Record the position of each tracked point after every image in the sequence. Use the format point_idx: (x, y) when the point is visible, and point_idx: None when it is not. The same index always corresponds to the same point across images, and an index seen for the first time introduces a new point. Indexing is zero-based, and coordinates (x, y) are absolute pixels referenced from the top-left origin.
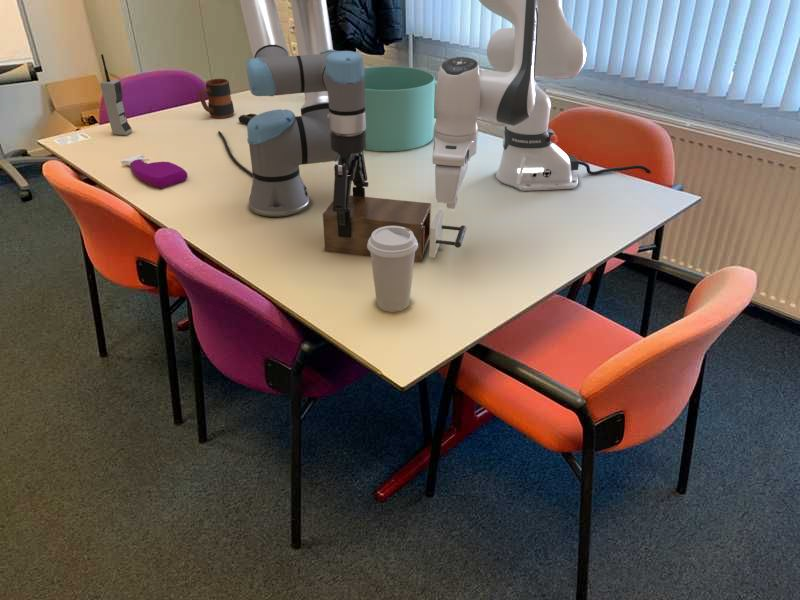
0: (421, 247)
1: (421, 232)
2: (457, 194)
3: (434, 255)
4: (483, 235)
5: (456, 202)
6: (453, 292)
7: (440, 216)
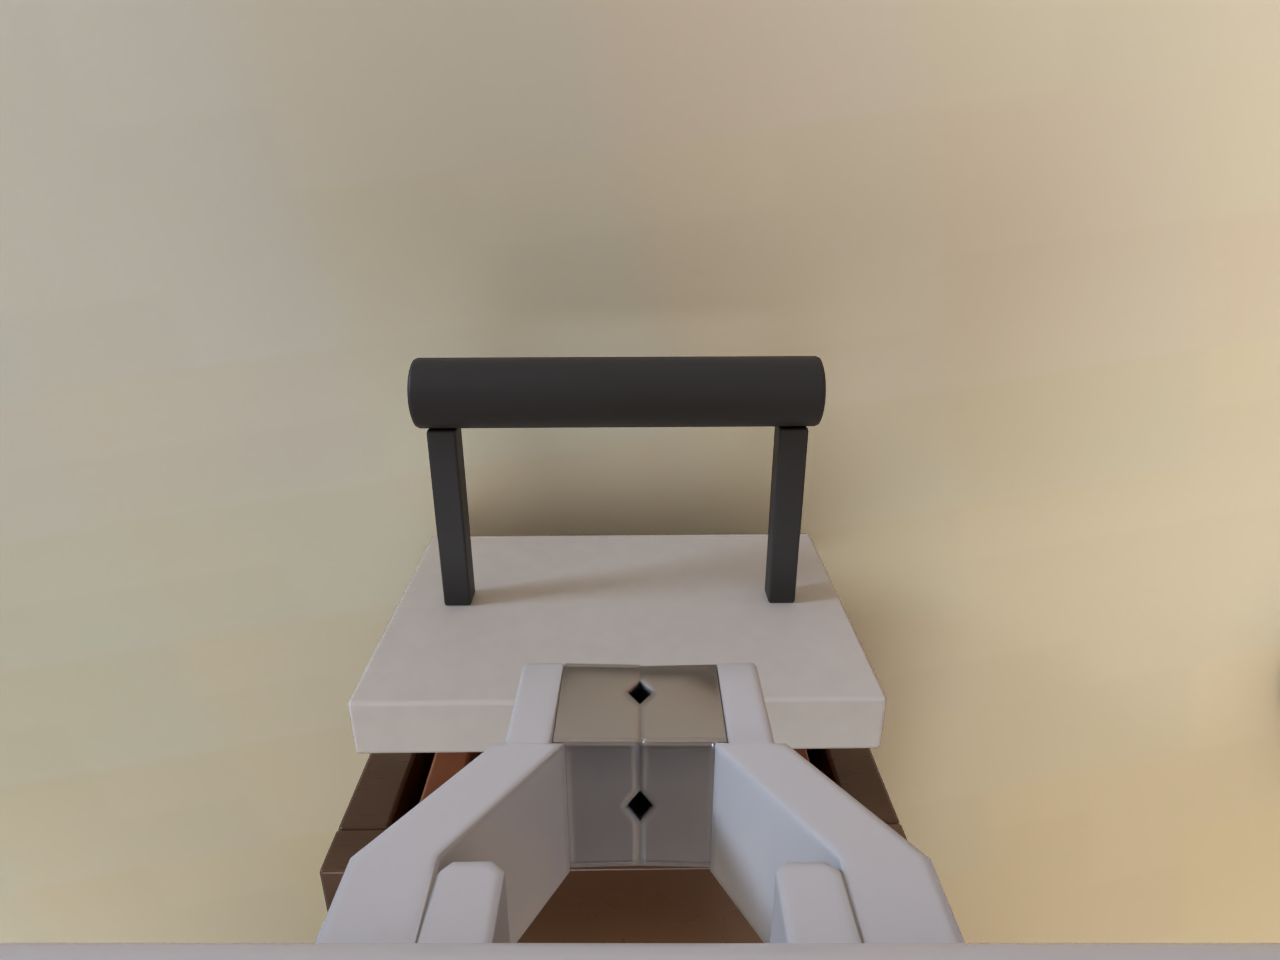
0: None
1: (867, 785)
2: (528, 771)
3: (813, 544)
4: (186, 166)
5: (586, 678)
6: (1274, 294)
7: None
